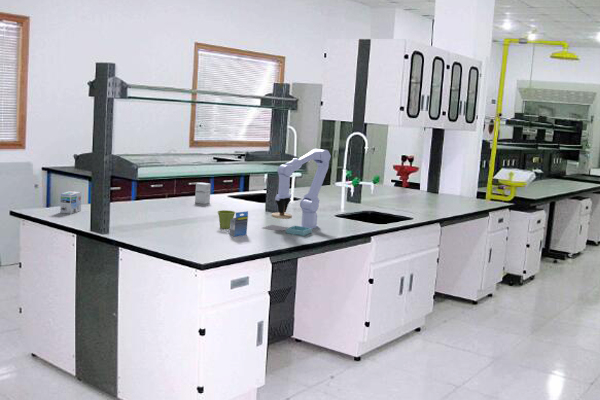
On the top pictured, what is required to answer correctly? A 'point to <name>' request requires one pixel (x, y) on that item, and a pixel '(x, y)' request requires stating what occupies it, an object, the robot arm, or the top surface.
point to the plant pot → (225, 218)
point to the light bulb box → (70, 202)
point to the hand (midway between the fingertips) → (282, 212)
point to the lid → (282, 215)
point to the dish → (299, 230)
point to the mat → (275, 228)
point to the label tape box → (239, 224)
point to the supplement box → (202, 193)
